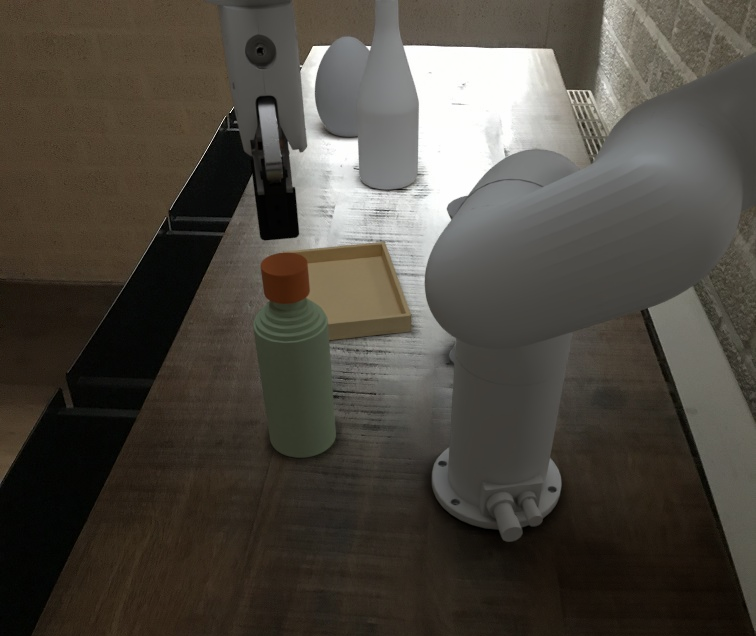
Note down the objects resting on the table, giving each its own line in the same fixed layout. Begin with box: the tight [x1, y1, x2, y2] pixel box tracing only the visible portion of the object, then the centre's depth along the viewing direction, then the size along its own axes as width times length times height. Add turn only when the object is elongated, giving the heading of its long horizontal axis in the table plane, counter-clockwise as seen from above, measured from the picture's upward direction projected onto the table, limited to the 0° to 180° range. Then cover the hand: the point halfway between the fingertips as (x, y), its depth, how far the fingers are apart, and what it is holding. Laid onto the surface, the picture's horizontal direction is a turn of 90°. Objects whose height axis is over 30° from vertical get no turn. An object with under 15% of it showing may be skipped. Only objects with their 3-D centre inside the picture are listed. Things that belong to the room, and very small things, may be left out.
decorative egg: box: [314, 35, 370, 138], centre depth 140 cm, size 12×12×15 cm
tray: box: [282, 241, 412, 341], centre depth 103 cm, size 19×14×2 cm
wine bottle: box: [357, 0, 420, 191], centre depth 119 cm, size 10×10×30 cm
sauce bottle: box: [252, 298, 337, 459], centre depth 78 cm, size 7×7×20 cm
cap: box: [260, 252, 310, 304], centre depth 71 cm, size 4×4×3 cm
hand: (276, 217), depth 67 cm, fingers open, 5 cm apart
